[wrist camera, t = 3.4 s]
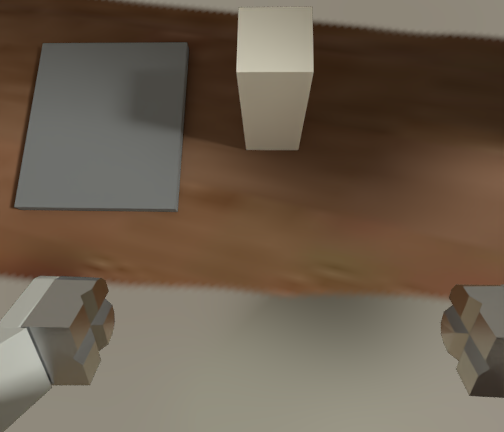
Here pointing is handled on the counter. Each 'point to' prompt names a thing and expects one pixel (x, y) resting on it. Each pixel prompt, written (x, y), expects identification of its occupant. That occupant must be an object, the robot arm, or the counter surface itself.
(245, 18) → the cream block
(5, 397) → the robot arm
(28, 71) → the counter surface
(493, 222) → the counter surface
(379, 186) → the counter surface
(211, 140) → the counter surface
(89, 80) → the mat
